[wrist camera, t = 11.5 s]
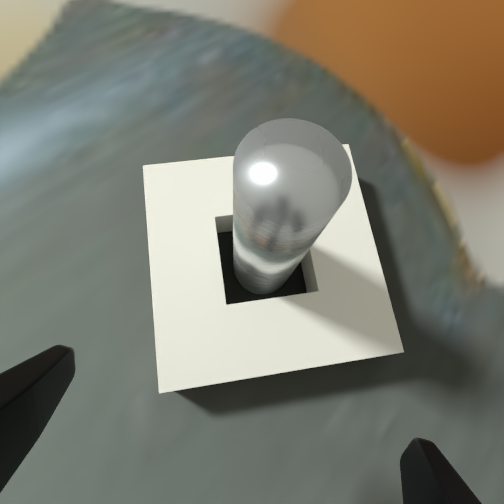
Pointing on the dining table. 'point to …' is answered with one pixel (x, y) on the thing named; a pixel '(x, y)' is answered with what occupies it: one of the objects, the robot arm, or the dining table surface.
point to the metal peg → (283, 198)
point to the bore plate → (260, 311)
